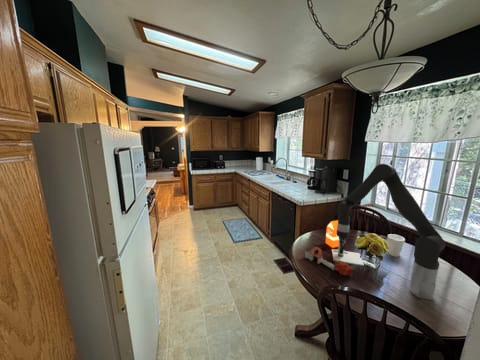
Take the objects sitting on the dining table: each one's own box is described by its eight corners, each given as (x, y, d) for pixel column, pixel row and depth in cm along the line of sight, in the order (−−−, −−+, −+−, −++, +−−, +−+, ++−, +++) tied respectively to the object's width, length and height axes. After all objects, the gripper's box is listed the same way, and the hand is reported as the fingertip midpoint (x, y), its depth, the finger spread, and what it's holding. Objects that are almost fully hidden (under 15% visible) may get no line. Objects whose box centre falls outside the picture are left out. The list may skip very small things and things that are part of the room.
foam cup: (405, 257, 135) (408, 240, 133) (392, 258, 135) (394, 240, 133) (395, 250, 145) (397, 234, 142) (382, 250, 145) (384, 234, 142)
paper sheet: (363, 266, 128) (364, 264, 127) (333, 260, 134) (333, 259, 134) (359, 254, 140) (359, 253, 140) (331, 249, 147) (331, 248, 146)
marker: (343, 257, 136) (345, 241, 133) (337, 256, 137) (339, 240, 135) (343, 254, 139) (344, 238, 137) (337, 253, 141) (338, 238, 138)
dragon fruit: (331, 271, 126) (352, 280, 120) (331, 270, 119) (353, 280, 113) (335, 258, 128) (356, 266, 122) (335, 257, 121) (357, 266, 115)
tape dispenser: (336, 273, 124) (327, 253, 143) (337, 266, 123) (328, 247, 142) (307, 270, 126) (302, 251, 145) (308, 263, 125) (303, 245, 144)
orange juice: (325, 242, 157) (327, 219, 152) (334, 241, 159) (336, 218, 155) (332, 248, 149) (334, 223, 145) (341, 245, 152) (344, 221, 148)
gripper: (351, 234, 126) (348, 258, 130) (347, 225, 139) (345, 247, 143) (338, 233, 129) (336, 256, 132) (335, 224, 142) (333, 246, 145)
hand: (340, 251), depth 138 cm, fingers closed on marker, 3 cm apart
